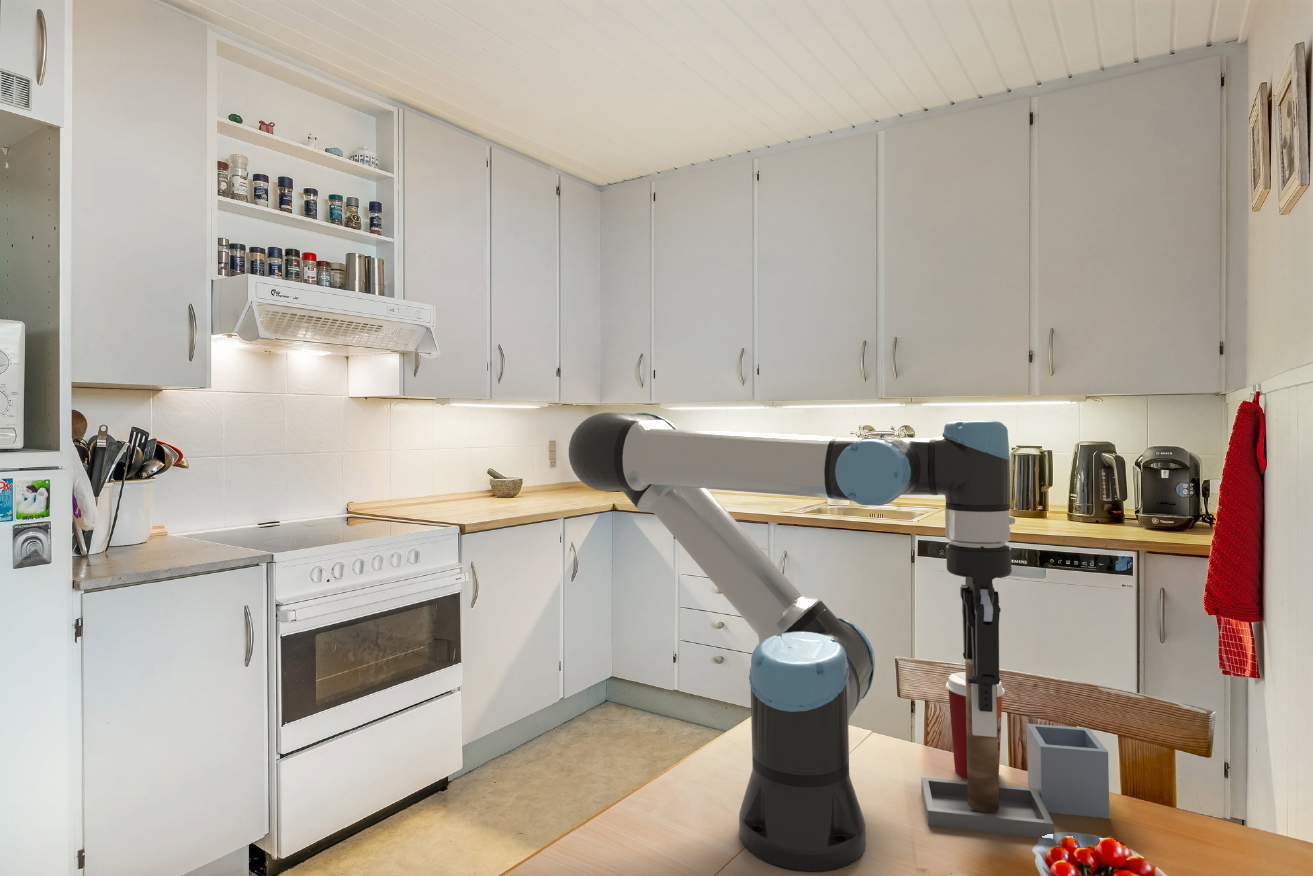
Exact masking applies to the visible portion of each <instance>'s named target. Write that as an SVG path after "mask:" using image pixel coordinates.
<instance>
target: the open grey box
mask: <svg viewBox="0 0 1313 876" xmlns="http://www.w3.org/2000/svg"><path fill="white" fill-rule="evenodd" d="M1026 742H1027V743H1026V745H1027V746H1026V747H1027V748H1026V749H1027V751H1026V752H1027V755H1026V756H1027V785H1028V786H1029V787H1028V788H1036V790H1037V792H1038V794H1039V796H1040V798H1041V800H1042V802H1043V804H1044V806H1045V808H1046V810H1047V812H1048V813H1049V814H1050V813H1052V814H1061V815H1072V816H1080V817H1091V818H1098V819H1099V818H1101V819H1109V820H1110V779H1109V778H1110V775H1109V751H1108V750H1107V748H1105V746H1104V745H1103V744H1102V742H1101V741H1100V740H1099V739H1098V738H1097V736H1096V735H1095V734H1094V732H1093V731H1092V730H1091V729H1090V728H1089V727H1076V726H1063V725H1053V724H1051V725H1049V724H1035V723H1026Z"/></svg>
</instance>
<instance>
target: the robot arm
mask: <svg viewBox="0 0 1313 876" xmlns="http://www.w3.org/2000/svg"><path fill="white" fill-rule="evenodd" d="M568 460H569V464H570V466H571V469H572V471H573V473H574V475H576V478H578V479H579V480H580V482H582V483H583V484H584V485H586V486H588V487H589V488H592V489H594V490H595V491H601V492H617V491H622V492H623V494H624V495H625V496H626V497H627V498H628V500H629V501H631V503H632V504H633V505H634V507H635V508H637V510H638V511H640V512H641V513H651V514H652V513H653V514H654V515H655V516H656V517H657V518H658V520H659V521H660V523H662V524H663V525H664V527H666V529H667V530H668V531H669V532H670V534H671V535H672V536H673V537H674V538H675V540H677V542H678V543H679V545H680V546H681V547H682V548H683V549H684V550H685V552H687V554H688V555H689V556H690V557H691V559H692V560H693V561H694V562H695V563H696V564H697V565H698V567H699V568H700V569H701V570H702V571H703V572H704V574H705V575H706V576H707V577H708V579H710V581H711V582H712V583H713V584H714V585H715V586H716V587H717V589H718V590H719V591H720V592H721V594H722V595H723V596H724V597H725V599H726V600H727V601H728V602H729V603H730V604H731V605H732V606H733V608H734V609H735V610H736V611H737V613H738V614H739V615H740V616H741V617H742V619H743V620H744V621H745V622H746V623H747V624H748V625H749V626H750V627H751V629H752V631H754V633H755V634H756V635H757V638H758V644H756V646H755V648H754V650H753V652H752V654H751V657H750V660H751V661H750V668H749V676H748V679H749V680H748V681H749V685H750V711H751V713H750V714H751V715H750V717H751V718H750V719H751V722H750V723H751V751H752V752H751V753H752V756H751V757H752V759H751V760H752V769H751V772H750V777H749V780H748V783H747V786H746V790H745V792H744V795H743V799H742V802H741V806H740V808H739V815H738V816H739V817H738V821H739V822H738V823H739V824H738V825H739V828H738V831H739V838H740V840H741V841H742V844H743V846H745V848H746V849H747V850H749V852H750V853H752V854H753V855H754V856H755V857H758V858H759V859H761V860H763V861H765V862H767V863H770V864H771V865H772V864H773V865H775V866H778V867H782V868H786V869H790V870H796V871H810V872H813V871H814V872H815V871H816V872H817V871H829V870H834V869H838V868H841V867H845V866H847V865H849V864H851V863H853V862H855V861H856V860H857V859H859V857H860V856H862V854H863V853H864V851H865V850H866V849H865V848H866V846H867V845H866V844H867V843H866V842H867V839H866V838H867V836H866V835H867V834H866V822H865V817H864V814H863V812H862V808H861V806H860V803H859V801H858V798H857V795H856V794H857V793H856V792H855V789H854V786H853V783H852V779H851V777H850V747H849V746H850V743H849V742H850V740H849V739H850V738H849V737H850V736H849V735H850V734H849V733H850V731H849V725H850V724H849V722H850V719H851V716H852V715H853V713H854V712H855V710H856V708H858V705H859V704H860V703H861V701H862V700H863V699H865V697H866V695H867V694H868V692H869V690H870V689H871V687H872V684H873V680H874V675H875V670H876V660H875V653H874V649H873V647H872V645H871V643H870V640H869V638H868V637H867V635H866V634H865V633H864V632H863V630H862V629H860V628H859V627H858V626H857V625H856V624H855V623H853V622H851V621H849V620H847V619H845V618H841V617H837V616H836V615H835V614H834V613H833V612H832V611H831V610H830V609H829V607H827V605H826V604H825V603H824V602H823V601H822V600H821V599H820V598H817V597H807V596H804V595H803V594H802V593H801V592H800V591H799V590H798V589H797V588H796V587H795V586H794V585H793V583H792V582H791V581H790V580H789V579H788V578H787V576H786V575H785V574H784V573H783V572H782V571H781V570H780V569H779V568H778V566H777V565H776V564H775V563H774V562H773V560H772V559H770V557H769V556H768V555H767V554H766V553H765V552H764V551H763V550H762V548H760V546H759V545H758V544H757V542H755V541H754V539H752V537H751V536H750V535H749V534H748V533H747V532H746V531H745V529H744V528H743V527H742V526H741V525H740V524H739V522H737V520H736V519H735V518H734V517H733V516H732V515H731V513H729V511H728V510H727V509H726V508H725V507H724V506H723V505H722V503H721V502H719V501H718V499H717V498H716V497H715V496H714V495H713V494H712V493H711V491H710V490H719V491H720V490H721V491H731V492H732V491H734V492H745V493H757V494H758V493H759V494H769V495H781V496H782V495H783V496H793V497H794V496H796V497H807V498H820V499H829V500H832V499H833V500H838V501H850V502H851V501H852V502H854V503H857V504H858V505H861V506H862V505H863V506H872V507H873V506H884V505H887V504H889V503H892V502H894V501H895V500H896V499H898V498H899V497H901V496H928V495H929V496H944V497H945V498H944V499H945V508H944V515H945V516H944V519H945V520H944V521H945V522H944V523H945V524H944V525H945V526H944V527H945V528H944V529H945V539H947V540H948V541H950V542H949V543H947V545H945V546H946V547H945V549H946V551H945V552H946V554H945V555H946V571H947V572H949V573H950V574H952V575H954V576H957V577H963V578H964V579H965V580H964V581H965V582H964V584H963V583H961V585H960V590H959V591H960V592H959V593H960V598H961V601H962V602H961V603H962V604H961V605H962V606H961V607H962V608H961V614H962V634H963V636H962V639H963V653H962V657H963V659H964V660H965V661H966V660H968V659H973V678H967V682H968V683H971V692H972V733H973V735H977V736H989V737H997V713H996V685H999V683H1000V681H1001V678H1000V633H999V632H1000V629H999V628H1000V613H1001V609H1002V608H1001V607H1000V605H999V604H1000V596H999V595H1000V594H999V591H997V590H995V587H994V584H993V580H995V579H996V578H999V579H1002V578H1007V577H1009V576H1010V575H1011V574H1012V548H1011V547H1010V546H1009V545H1008V544H1006V543H1008V542H1010V541H1011V527H1010V525H1015V524H1016V518H1015V517H1014V516H1010V515H1011V511H1010V509H1011V491H1010V490H1011V458H1010V446H1009V433H1008V427H1007V426H1006V425H1005V424H1003V422H1002V421H1001V422H1000V421H997V420H974V421H973V420H972V421H968V420H967V421H950V422H947V423H945V425H944V427H943V432H942V436H936V437H848V436H845V437H842V436H841V437H840V436H836V437H834V436H824V435H822V436H821V435H805V434H803V435H801V434H800V435H799V434H784V433H783V434H782V433H781V434H779V433H778V434H777V433H760V432H756V433H755V432H739V431H738V432H736V431H735V432H734V431H716V430H715V431H714V430H713V431H711V430H710V431H709V430H693V429H690V430H689V429H679V428H678V426H676V425H675V424H674V423H673V422H671V421H670V420H669V419H667V418H664V417H662V416H660V415H656V414H653V413H648V412H638V413H620V412H601V413H598V414H594V415H591V416H589V417H587V418H586V419H585V420H583V421H582V422H580V424H579V425H578V426H577V427H576V428H575V429H574V431H573V433H572V435H571V437H570V440H569V443H568Z"/></svg>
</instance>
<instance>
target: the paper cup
mask: <svg viewBox="0 0 1313 876" xmlns="http://www.w3.org/2000/svg"><path fill="white" fill-rule="evenodd" d="M1002 684H1003V683H1002V682H1001V680H1000V683H999V685H997V723H998V777H1000V776H999V774H1000V761H1001V760H1000V759H1001V758H1000V757H1001V737H1002V736H1001V734H1002V713H1003V710H1002V709H1003V696H1004V695H1005V693H1006V690H1005V688H1003V685H1002ZM945 687H946V689H947V690H948V691H947V692H948V701H949V715H950V716H949V717H950V729H951V739H952V741H951V742H952V752H953V753H952V754H953V762H954V770H955V773H956V774H957V775H959V777H962V778H964V779H967V729H966V674H965V671H960V672H954V673H951V674H950V675H949V676H948V681H947V682H946V684H945Z"/></svg>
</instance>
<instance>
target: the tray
mask: <svg viewBox="0 0 1313 876" xmlns="http://www.w3.org/2000/svg"><path fill="white" fill-rule="evenodd" d="M920 780H921V781H920V782H921V783H920V784H921V785H920V787H921V789H920V790H921V795H922V800H923V801H922V802H923V807H924V811H925V817H926V822H927V826H930V827H937V828H938V827H939V828H947V829H948V828H949V829H954V830H955V829H957V830H965V831H974V832H975V831H976V832H982V833H983V832H984V833H991V834H992V833H993V834H1000V835H1008V836H1009V835H1011V836H1016V837H1017V836H1018V837H1019V836H1020V837H1025V838H1026V837H1027V838H1036V839H1043V838H1042V836H1045V835H1047V834H1054V835H1055V824H1054V822H1053V820H1052V818H1051V815H1050V812H1047V810H1046V808H1045V806H1044V804H1043V802H1042V800H1041V798H1040V796H1039V794H1038V792H1037V790H1036V788H1030V787H1024V786H1016V785H1015V786H1014V785H1004V784H999V810H998V811H996V812H992V813H986V812H981V811H977V810H975V809H973V808H971V807H970V806H969V805H968V783H967V781H963V780H953V779H945V778H944V779H942V778H931V777H920Z"/></svg>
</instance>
